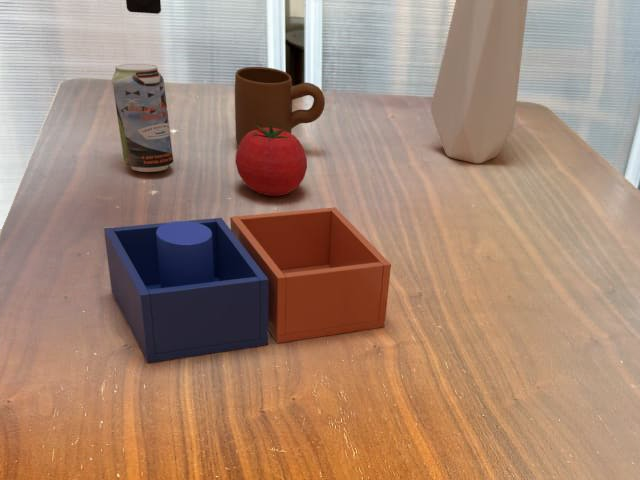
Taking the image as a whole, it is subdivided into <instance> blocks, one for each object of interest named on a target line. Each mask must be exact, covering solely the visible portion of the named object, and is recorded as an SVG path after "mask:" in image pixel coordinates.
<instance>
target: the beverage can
mask: <svg viewBox="0 0 640 480" xmlns="http://www.w3.org/2000/svg"><path fill="white" fill-rule="evenodd" d="M114 68H115V71H114V73H113V75H112V79H111V82H112V88H113V97H114V103H115V109H116V116H117V123H118V130H119V136H120V143H121V149H122V156H123V163H124V164H125V165H127V166H129V167H130V168H131V170H132V171H137V172H143V173H144V172H145V173H149V172H150V173H152V172H153V173H154V172H161V171H165V170H168V168H169V165H171V164H172V163H173V162H174V156H173V155H174V154H173V146H172V137H171V129H170V121H169V113H168V105H167V95H166V87H165V80H164V77H163V76H162V74H161V72H160V71H159V70H158V66H157V65H155V64H150V63H125V64H123V63H122V64H117V65H115V67H114Z"/></svg>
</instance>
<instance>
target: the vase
mask: <svg viewBox="0 0 640 480" xmlns="http://www.w3.org/2000/svg"><path fill="white" fill-rule="evenodd" d="M528 1H529V0H455V3H454V6H453V11H452V14H451V15H452V16H451V19H450V23H449V28H448V31H447V37H446V40H445V45H444V49H443V54H442V57H441V61H440V66H439V70H438V74H437V79H436V83H435V87H434V91H433V96H432V100H431V106H430V113H431V116H432V120H433V122H434V126H435V128H436V130H437V133H438V136H439V139H440V142H441V144H442V148H443V150H444V153H445V155H446V157H449V158H451V159H455V160H459V161H464V162H468V163H471V164H472V163H473V164H478V165H479V164H482V163H485V162H488V161H490V160H492V159H494V158H496V157H497V156H498V155H499V153H500V152H501V150H502V148H503V146H504V145H505V143H506V141H507V140H508V138H509V136H510V135H511V133H512V132H513V128H514V124H515V117H516V109H517V100H518V90H519V82H520V81H519V80H520V72H521V64H522V55H523V47H524V37H525V30H526V29H525V27H526V19H527V18H526V17H527V10H528V3H529V2H528Z"/></svg>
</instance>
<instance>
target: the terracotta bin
mask: <svg viewBox="0 0 640 480" xmlns="http://www.w3.org/2000/svg"><path fill="white" fill-rule="evenodd" d="M229 218H230V219H229V220H230V230H231V231H232V232H233V234H234V235H235V236H236V237H237V239H238V240H239V241H240V243H241V244H242V245H243V247H244V248H245V249H246V251H247V252H248V253H249V255H250V256H251V257H252V258H253V260H254V261H255V262H256V264H257V265H258V266H259V268H260V269H261V270H262V272H263V273H264V274H265V276H266V277H267V278H268V333H269V334H270V335H271V337H272V339H274V341H275V342H276V344H280V343H281V344H282V343H286V342H287V343H289V342H295V341H301V340H307V339H315V338H319V337H320V338H321V337H327V336H333V335H339V334H340V335H341V334H346V333H353V332H359V331H366V330H373V329H379V328H384V327H385V324H386V317H387V308H388V307H387V306H388V297H389V290H390V289H389V288H390V278H391V269H392V263H390V262H389V261H388V260H387V258H386V257H385V256H384V255H382V254H381V253H380V251H378V249H377V248H376V247H375V246H373V245H374V244H372V243H371V242H370V241H369V240H368V239H367V238H366V237H365V236H364V235H363V234H362V233H361V232H360V231H359V230H358V229H357V227H355V226H354V225H353V223H352V222H351V221H349V220H348V218H346V216H344V215H343V213H342V212H341V211H340V210H339V209H338V208H337V207H335V206H334V207H325V208H315V209H314V208H313V209H304V210H303V209H302V210H301V209H300V210H291V211H281V212H269V213H259V214H257V213H256V214H248V215H247V214H246V215H235V216H230V217H229Z"/></svg>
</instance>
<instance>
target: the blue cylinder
mask: <svg viewBox="0 0 640 480" xmlns="http://www.w3.org/2000/svg"><path fill="white" fill-rule="evenodd" d="M189 221H190V220H178V221H176V220H175V221H169V222H170V223H168V222H165V223H166V224H163V225H161V226H160V227H159V228H158V229H157V231H156V237H157V249H158V260H159V272H160V284H161V288H167V287H175V286H184V285H192V284H200V283H209V282H214V268H213V243H212V232H211V230H210V229H209V228H208V227H206V226H204V225H202V224H199V223H195V222H189Z"/></svg>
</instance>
